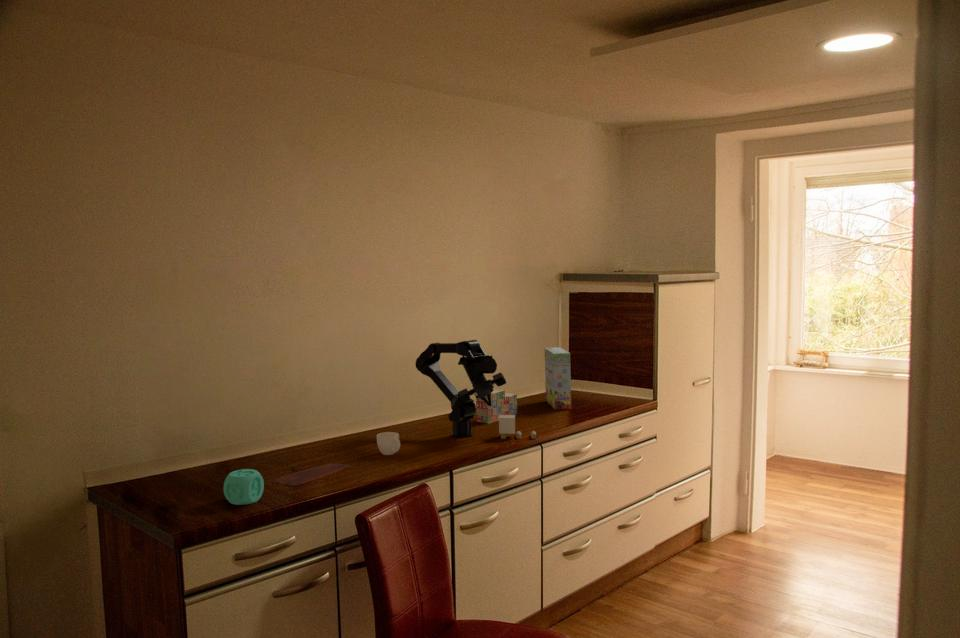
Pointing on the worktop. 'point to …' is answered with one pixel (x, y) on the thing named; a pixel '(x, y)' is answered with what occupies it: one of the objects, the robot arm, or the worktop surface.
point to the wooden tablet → (310, 474)
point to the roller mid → (518, 435)
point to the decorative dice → (243, 486)
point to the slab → (506, 424)
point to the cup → (388, 442)
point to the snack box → (558, 378)
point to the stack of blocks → (496, 406)
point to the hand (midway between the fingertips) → (490, 405)
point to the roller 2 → (533, 435)
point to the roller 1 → (503, 436)
